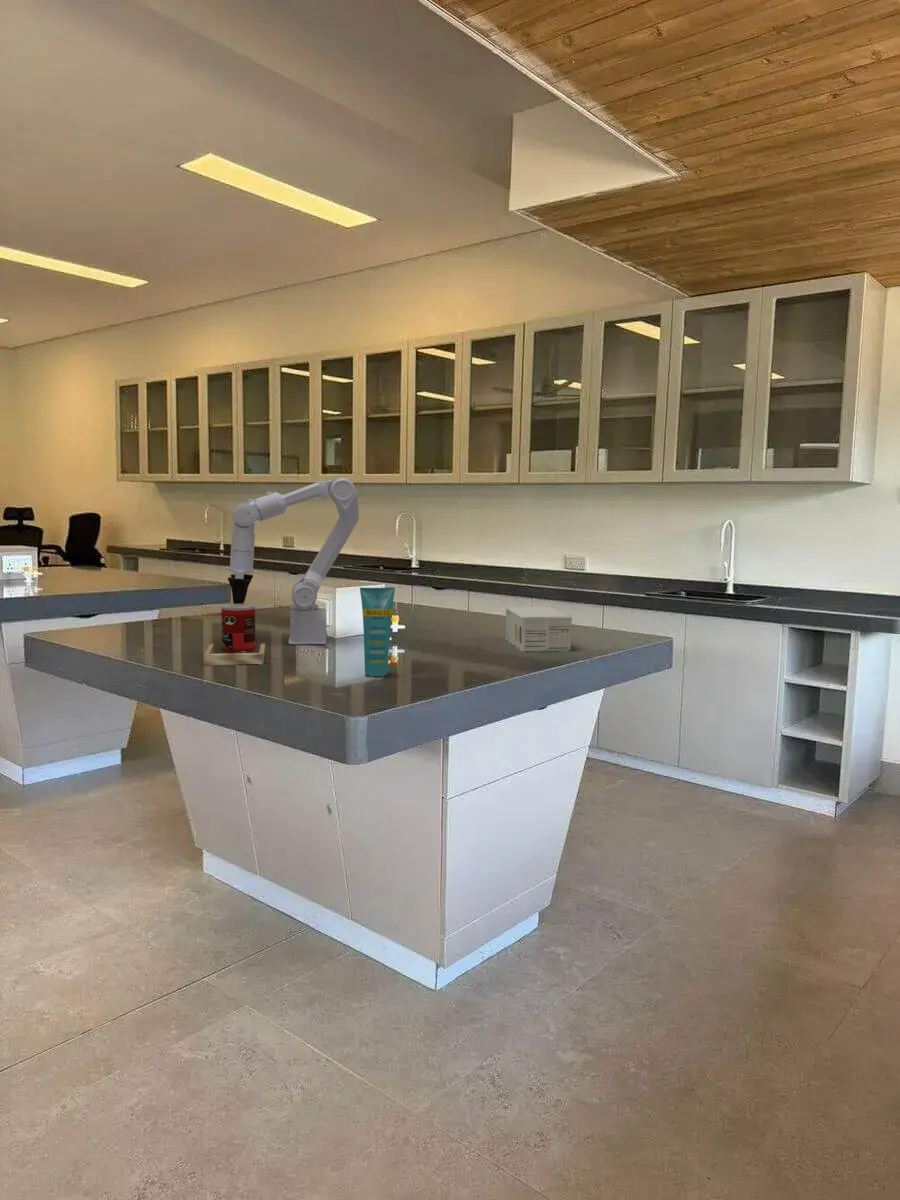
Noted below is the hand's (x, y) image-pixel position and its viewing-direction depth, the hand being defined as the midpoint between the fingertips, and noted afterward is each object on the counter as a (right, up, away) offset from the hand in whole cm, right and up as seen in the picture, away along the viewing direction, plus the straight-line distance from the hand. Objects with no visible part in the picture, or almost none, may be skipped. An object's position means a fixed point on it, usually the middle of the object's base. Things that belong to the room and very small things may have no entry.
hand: (239, 604), depth 216 cm
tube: (+38, -15, -32) cm, 52 cm away
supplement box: (+76, -11, +6) cm, 78 cm away
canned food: (+2, -11, -7) cm, 14 cm away
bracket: (+4, -13, -18) cm, 22 cm away
